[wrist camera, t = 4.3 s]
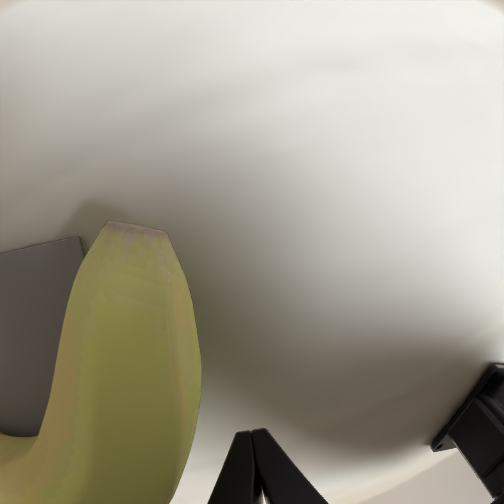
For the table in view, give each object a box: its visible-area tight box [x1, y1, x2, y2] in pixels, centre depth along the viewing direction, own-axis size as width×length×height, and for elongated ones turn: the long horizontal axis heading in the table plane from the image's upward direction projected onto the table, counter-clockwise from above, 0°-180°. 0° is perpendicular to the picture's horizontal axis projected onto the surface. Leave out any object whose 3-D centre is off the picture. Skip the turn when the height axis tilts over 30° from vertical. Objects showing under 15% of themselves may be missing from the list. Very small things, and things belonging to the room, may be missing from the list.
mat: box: [0, 236, 85, 437], centre depth 9 cm, size 10×12×1 cm
